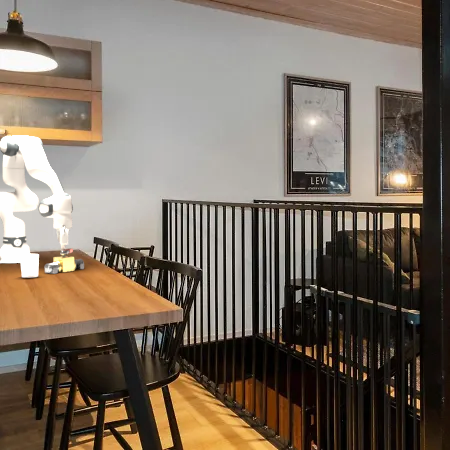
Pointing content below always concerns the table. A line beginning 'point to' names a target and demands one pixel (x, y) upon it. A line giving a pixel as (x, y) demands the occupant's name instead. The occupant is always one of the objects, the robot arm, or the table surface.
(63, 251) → the lever
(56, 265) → the valve
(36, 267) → the white cup
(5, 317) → the table surface
